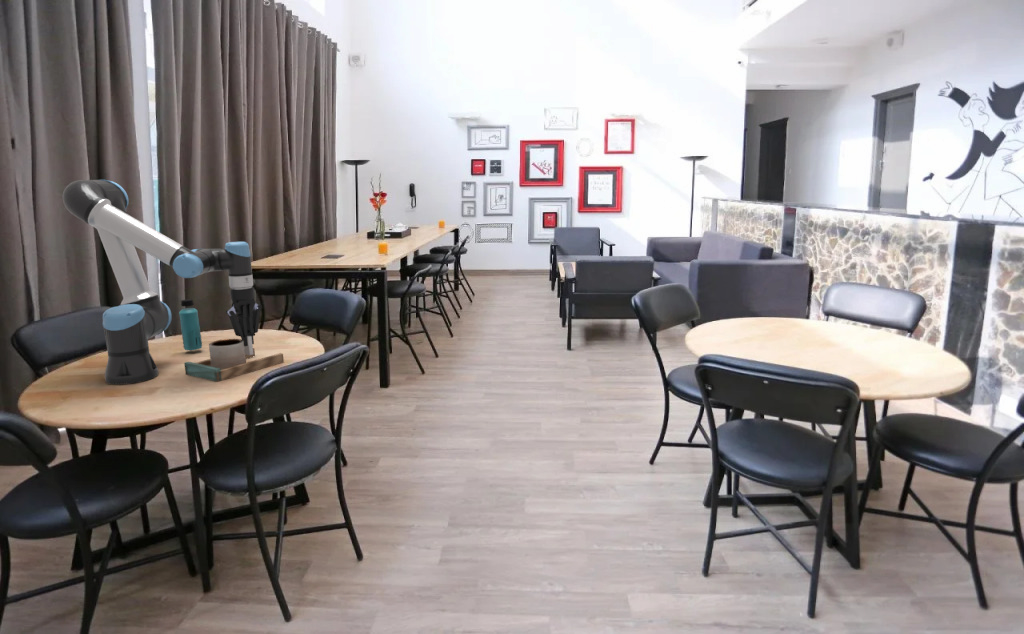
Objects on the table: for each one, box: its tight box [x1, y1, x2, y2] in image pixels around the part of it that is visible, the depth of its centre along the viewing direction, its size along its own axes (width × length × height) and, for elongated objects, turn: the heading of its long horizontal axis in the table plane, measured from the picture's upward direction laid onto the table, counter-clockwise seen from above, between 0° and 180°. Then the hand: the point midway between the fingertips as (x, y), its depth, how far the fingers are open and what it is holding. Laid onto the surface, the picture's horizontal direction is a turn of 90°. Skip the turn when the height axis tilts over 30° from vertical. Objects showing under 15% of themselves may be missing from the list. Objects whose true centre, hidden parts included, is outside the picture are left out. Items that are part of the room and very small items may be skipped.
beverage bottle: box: [178, 298, 203, 351], centre depth 244 cm, size 6×7×20 cm
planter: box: [208, 338, 247, 370], centre depth 221 cm, size 11×11×10 cm
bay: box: [183, 347, 285, 383], centre depth 224 cm, size 26×17×4 cm, turn 148°
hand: (249, 354), depth 228 cm, fingers closed
